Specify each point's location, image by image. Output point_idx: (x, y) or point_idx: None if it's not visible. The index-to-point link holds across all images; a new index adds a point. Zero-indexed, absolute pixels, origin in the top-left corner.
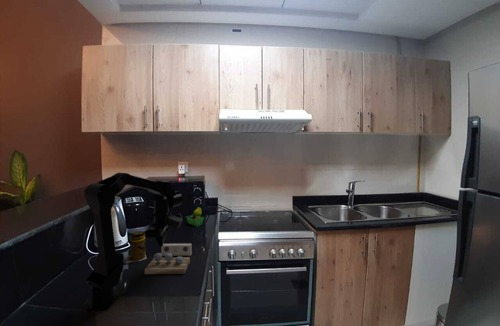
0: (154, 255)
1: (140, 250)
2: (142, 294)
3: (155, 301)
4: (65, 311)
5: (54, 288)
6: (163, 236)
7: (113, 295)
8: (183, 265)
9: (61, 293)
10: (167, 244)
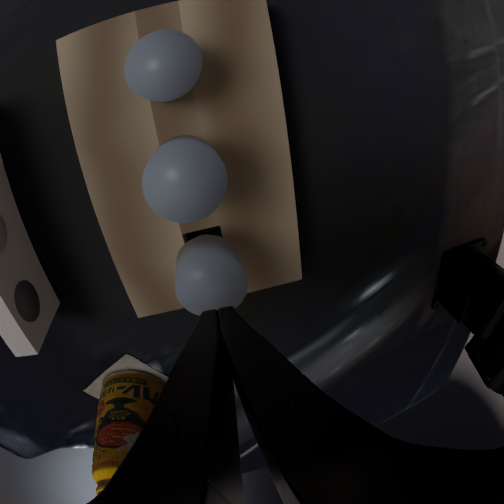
0: (234, 305)
1: (148, 417)
2: (442, 167)
3: (471, 93)
4: (456, 329)
5: None
6: (338, 429)
7: (469, 261)
8: (207, 14)
9: (387, 397)
10: (2, 323)
